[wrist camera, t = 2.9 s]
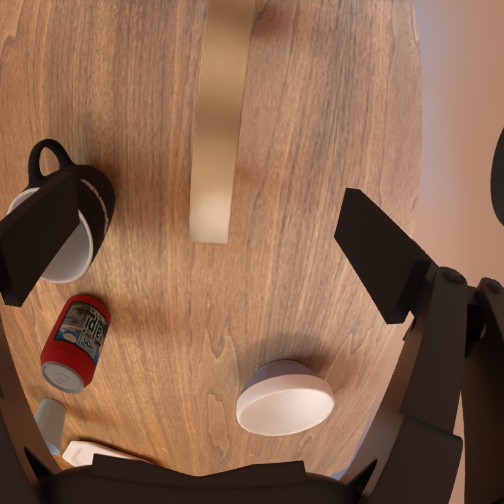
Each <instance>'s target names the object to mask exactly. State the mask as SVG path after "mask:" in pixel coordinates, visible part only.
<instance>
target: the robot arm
mask: <svg viewBox="0 0 504 504" xmlns="http://www.w3.org/2000/svg"><path fill="white" fill-rule="evenodd" d="M79 224H80V219H79V210H78V201H77V190H76V178H75V171H65V172H60V173H59V174H58V175H56V176H55V177H54V178H52V179H51V180H50V181H48V182H47V183H46V184H44V185H43V186H42V187H41V188H39V189H38V190H37V191H36V192H34V193H33V194H32V195H31V196H29V197H28V198H27V199H26V200H24V201H23V202H22V203H21V204H20V205H18V206H17V207H16V208H15V209H14V210H13V211H11V212H10V213H9V214H8V215H7V216H6V217H5V218H3V219H2V220H1V221H0V292H1V295H2V297H3V300H4V303H5V305H10V306H16V307H21V306H22V304H23V303H24V301H25V300H26V298H27V296H28V295H29V293H30V292H31V290H32V289H33V287H34V286H35V284H36V283H37V281H38V280H39V278H40V277H41V275H42V274H43V272H44V271H45V269H46V268H47V267H48V265H49V264H50V262H51V261H52V260H53V258H54V257H55V255H56V254H57V253H58V251H59V250H60V249H61V247H62V246H63V245H64V243H65V242H66V241H67V239H68V238H69V237H70V235H71V234H72V233H73V232H74V230H75V229H76V228H77V226H78V225H79ZM334 238H335V240H336V241H337V243H338V244H339V246H340V247H341V249H342V251H343V252H344V254H345V255H346V257H347V258H348V260H349V262H350V263H351V265H352V266H353V268H354V270H355V271H356V273H357V275H358V276H359V278H360V280H361V281H362V283H363V284H364V286H365V288H366V289H367V291H368V293H369V294H370V296H371V298H372V300H373V301H374V303H375V305H376V306H377V308H378V310H379V311H380V313H381V315H382V317H383V318H384V320H385V322H386V324H399V323H404V321H405V319H406V317H407V315H408V313H409V311H411V313H412V314H413V316H414V319H413V321H412V323H411V325H410V326H409V328H408V330H407V332H406V334H405V336H404V338H403V340H404V341H405V343H404V345H403V348H402V351H401V354H400V357H399V359H398V362H397V365H396V368H395V370H394V373H393V375H392V378H391V380H390V383H389V385H388V388H387V390H386V392H385V395H384V397H383V400H382V402H381V404H380V407H379V409H378V411H377V413H376V415H375V418H374V420H373V422H372V424H371V426H370V428H369V431H368V433H367V434H366V437H365V439H364V441H363V443H362V445H361V447H360V448H359V450H358V452H357V454H356V456H355V458H354V460H353V462H352V464H351V465H350V467H349V468H348V470H347V471H346V473H345V474H344V475H343V476H342V478H341V479H340V480H339V481H338V480H336V479H333V478H330V477H327V476H324V475H320V474H315V473H310V472H305V467H304V462H303V460H302V461H293V462H282V463H269V464H252V465H248V466H245V467H241V468H237V469H233V470H229V471H225V472H220V473H216V474H211V475H206V476H199V477H197V476H191V475H187V474H184V473H180V472H177V471H173V470H170V469H167V468H164V467H161V466H158V465H155V464H152V463H149V462H146V461H143V460H135V459H128V458H121V457H114V456H108V455H103V454H97V453H94V454H93V460H92V465H83V466H77V467H73V468H70V469H66V470H64V471H63V470H62V469H61V468H60V466H59V465H58V464H57V462H56V461H55V459H54V458H53V456H52V454H51V453H50V451H49V449H48V447H47V445H46V443H45V441H44V439H43V436H42V434H41V432H40V430H39V428H38V426H37V423H36V421H35V419H34V416H33V414H32V412H31V409H30V407H29V404H28V402H27V399H26V397H25V394H24V391H23V389H22V386H21V383H20V380H19V378H18V375H17V372H16V369H15V366H14V362H13V359H12V356H11V353H10V349H9V346H8V342H7V339H6V335H5V331H4V327H3V323H2V319H1V314H0V504H448V503H449V499H450V497H451V493H452V490H453V486H454V482H455V479H456V475H457V471H458V467H459V463H460V459H461V454H462V449H463V440H462V439H461V437H459V436H456V435H454V434H453V430H454V425H455V420H456V414H457V409H458V403H459V397H460V390H461V397H462V407H463V420H464V437H465V493H464V496H465V497H464V501H465V502H464V504H504V288H503V287H502V286H501V284H500V283H499V282H497V281H496V280H494V279H493V280H492V279H490V278H486V277H485V278H482V279H481V281H480V283H479V285H478V287H477V288H475V287H472V286H468V285H467V281H466V279H465V278H464V277H463V276H462V275H461V274H460V273H459V272H457V271H456V270H454V269H451V268H448V267H438V265H437V264H436V263H435V262H434V261H433V260H432V259H431V258H430V257H429V256H428V255H427V254H426V253H425V251H424V250H423V249H421V247H420V246H419V245H418V244H417V243H416V242H415V241H414V240H412V239H411V238H410V237H409V236H408V235H407V234H406V233H405V232H404V231H403V230H402V229H401V228H400V227H399V226H398V225H397V224H396V223H395V222H394V221H393V220H392V219H391V218H389V217H388V216H387V215H386V214H385V213H384V212H383V211H382V210H381V209H380V208H379V207H378V206H377V205H376V204H375V203H374V202H373V201H372V200H371V199H369V198H368V197H367V196H366V195H365V194H364V193H363V192H362V191H361V190H359V189H352V188H346V190H345V194H344V198H343V203H342V207H341V211H340V215H339V219H338V223H337V227H336V231H335V235H334Z"/></svg>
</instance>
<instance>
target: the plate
mask: <svg viewBox="0 0 504 504" xmlns="http://www.w3.org/2000/svg"><path fill="white" fill-rule="evenodd" d="M94 453H97V454H103V455H108V456H114V457H121V458H128V459H135V460H143V461H146V462H149V461H147V460H144V459H142V458H139V457H135V456H132V455H129V454H126V453H123V452H120V451H117V450H114V449H111V448H108V447H106V446H103V445H100V444H98V443H95V442H86V441H71V442H70V444H69V446H68V447H67V449H66V451H65V452H64V454H63V456H62V457H63V459H65V460H66V461H67V462H69V463H70V464H71V465H73V466H76V467H77V466H83V465H92V460H93V454H94ZM149 463H151V462H149ZM152 464H153V463H152Z"/></svg>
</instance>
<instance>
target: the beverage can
mask: <svg viewBox="0 0 504 504" xmlns="http://www.w3.org/2000/svg"><path fill="white" fill-rule="evenodd" d="M109 324H110V316H109V313H108V311H107V309H106V308H105V307H104V306H103V305H102V304H101V303H100V302H99V301H98V300H96V299H94V298H92V297H90V296H86V295H75V296H72V297H71V298H69V299H68V300H67V302H66V304H65V306H64V308H63V309H62V311H61V313H60V315H59V317H58V319H57V321H56V323H55V325H54V327H53V329H52V331H51V333H50V335H49V337H48V339H47V342H46V344H45V346H44V348H43V351H42V353H41V356H40V360H41V367H42V368H41V373H42V375H43V377H44V379H45V380H46V381H47V382H48V383H49V384H50V385H52V386H53V387H55V388H57V389H58V390H61V391H63V392H66V393H72V394H76V393H80V392H81V391H82V390H83V388H85V387H86V386H87V385H88V384H90V383H91V381H92V379H93V375H94V372H95V369H96V366H97V362H98V359H99V356H100V353H101V350H102V347H103V343H104V340H105V337H106V334H107V331H108V328H109Z"/></svg>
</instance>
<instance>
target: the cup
mask: <svg viewBox="0 0 504 504" xmlns="http://www.w3.org/2000/svg"><path fill="white" fill-rule="evenodd" d="M65 413H66V409H65V407H64V406H63V405H62V404H61V403H59V402H57V401H56V400H53V399H50V398H44V399H43V400H42V402H41V404H40V406H39V408H38V411H37V413H36V415H35V417H34V419H35V421H36V423H37V426H38V428H39V430H40V432H41V434H42V436H43V439H44V441H45V443H46V445H47V447H48V449H49V451H50V453H51V454H56V455H57V454H60V450H61V441H62V433H63V426H64V419H65Z"/></svg>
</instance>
